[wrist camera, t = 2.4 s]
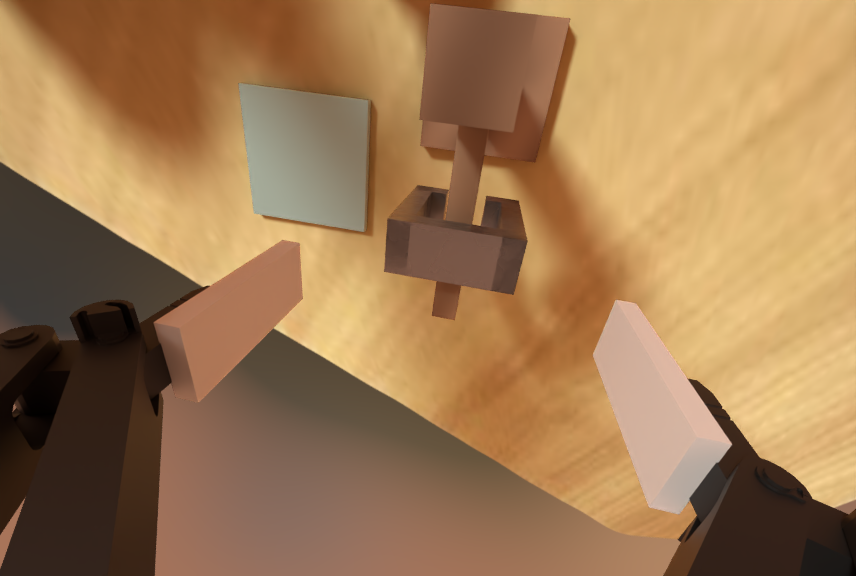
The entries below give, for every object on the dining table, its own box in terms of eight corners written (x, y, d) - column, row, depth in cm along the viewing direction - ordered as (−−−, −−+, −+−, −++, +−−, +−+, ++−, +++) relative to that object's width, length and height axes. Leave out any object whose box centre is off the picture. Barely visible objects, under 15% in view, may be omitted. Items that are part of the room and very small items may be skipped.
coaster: (258, 211, 39) (254, 213, 38) (243, 83, 33) (238, 82, 32) (366, 229, 38) (364, 232, 37) (370, 100, 32) (368, 100, 31)
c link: (413, 226, 27) (384, 271, 20) (417, 185, 25) (387, 218, 18) (508, 241, 26) (513, 294, 19) (518, 200, 25) (527, 241, 18)
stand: (415, 223, 36) (324, 362, 17) (436, 7, 28) (306, -190, 9) (514, 239, 36) (536, 406, 16) (567, 21, 27) (739, -166, 8)
